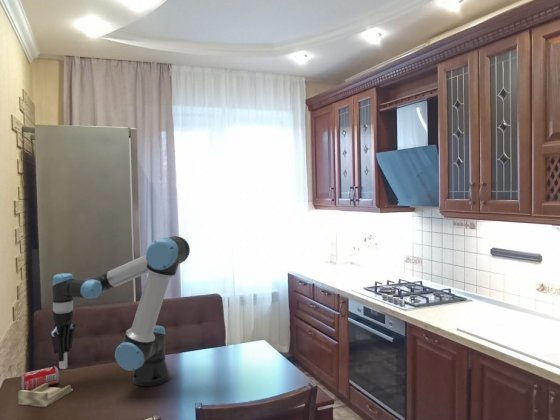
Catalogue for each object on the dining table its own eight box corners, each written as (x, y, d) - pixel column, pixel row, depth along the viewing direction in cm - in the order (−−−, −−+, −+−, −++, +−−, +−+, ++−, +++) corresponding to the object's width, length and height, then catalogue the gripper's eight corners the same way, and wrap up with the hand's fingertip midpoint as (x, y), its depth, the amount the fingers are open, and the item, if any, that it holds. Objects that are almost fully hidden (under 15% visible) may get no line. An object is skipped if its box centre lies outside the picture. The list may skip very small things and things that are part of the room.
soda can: (58, 365, 181) (22, 372, 173) (59, 383, 180) (23, 391, 172) (55, 366, 187) (20, 373, 179) (56, 383, 185) (21, 392, 177)
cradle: (72, 390, 176) (72, 378, 176) (45, 407, 161) (45, 393, 161) (47, 387, 178) (47, 375, 178) (18, 404, 164) (18, 390, 164)
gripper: (65, 307, 186) (66, 361, 186) (43, 314, 173) (43, 373, 174) (81, 308, 184) (81, 363, 185) (59, 315, 172) (60, 374, 172)
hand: (63, 367), depth 179 cm, fingers closed
